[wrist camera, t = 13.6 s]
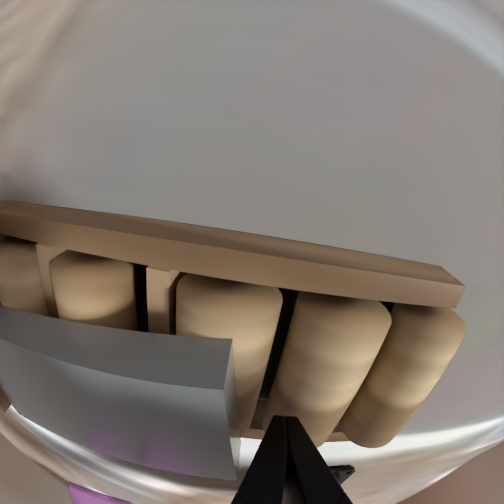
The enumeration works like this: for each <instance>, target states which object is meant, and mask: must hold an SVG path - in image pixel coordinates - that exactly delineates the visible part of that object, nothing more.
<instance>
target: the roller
mask: <svg viewBox="0 0 504 504" xmlns="http://www.w3.org/2000/svg"><path fill="white" fill-rule="evenodd" d="M50 272H51V278H52V284H53V290H54V295H55V300H56V305H57V309H58V314H59V318H60V319H63V320H68V321H73V322H79V323H84V324H90V325H96V326H103V327H109V328H116V329H123V330H131V331H138V323H137V310H136V294H135V268H134V263H132V262H127V261H122V260H117V259H112V258H107V257H102V256H97V255H93V254H88V253H83V252H79V251H74V250H69V251H66V252H64V253H62V254H60V255H59V256H57V257H56V258H55V259H54V260H53V261H52V263H51V265H50Z"/></svg>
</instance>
